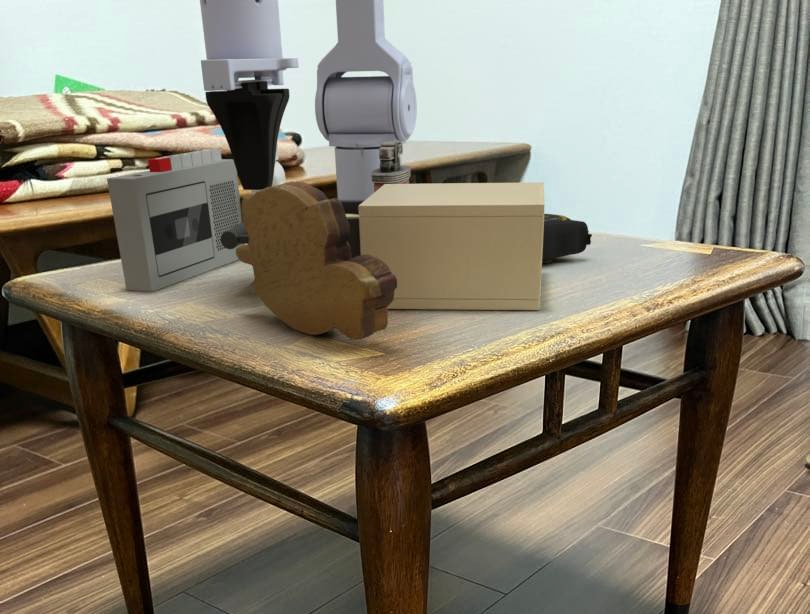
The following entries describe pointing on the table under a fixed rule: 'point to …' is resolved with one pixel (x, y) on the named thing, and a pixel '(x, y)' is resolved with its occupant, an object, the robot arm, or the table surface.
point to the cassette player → (175, 218)
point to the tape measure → (563, 237)
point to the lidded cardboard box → (458, 243)
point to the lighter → (390, 166)
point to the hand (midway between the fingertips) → (257, 188)
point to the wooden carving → (312, 263)
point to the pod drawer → (240, 236)
